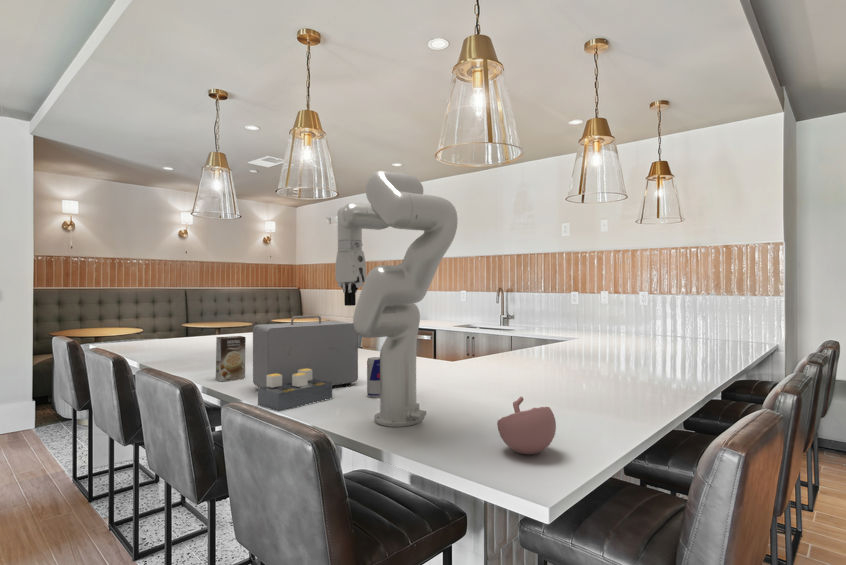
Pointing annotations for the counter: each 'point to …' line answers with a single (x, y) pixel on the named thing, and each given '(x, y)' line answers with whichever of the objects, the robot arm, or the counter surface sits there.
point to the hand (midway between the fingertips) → (350, 305)
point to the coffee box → (230, 358)
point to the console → (294, 394)
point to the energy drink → (373, 377)
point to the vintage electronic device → (306, 351)
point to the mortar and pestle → (528, 429)
